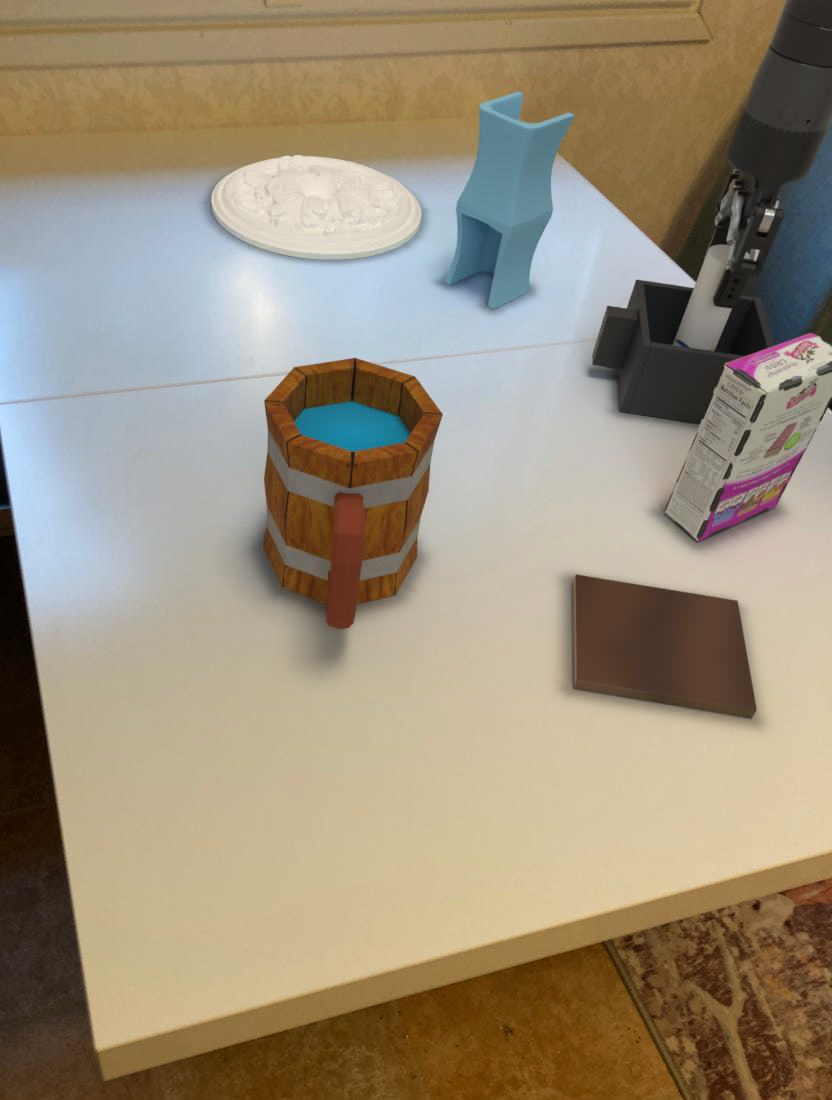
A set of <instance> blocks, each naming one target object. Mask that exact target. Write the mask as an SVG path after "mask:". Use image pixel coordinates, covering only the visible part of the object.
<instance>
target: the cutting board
mask: <svg viewBox="0 0 832 1100" xmlns="http://www.w3.org/2000/svg"><path fill="white" fill-rule="evenodd" d="M572 639H573V640H572V641H573V643H572V645H573V646H572V647H573V648H572V649H573V653H572V654H573V688H574V689H577V690H582V691H583V690H584V691H590V692H595V693H600V694H607V695H613V696H617V697H618V696H619V697H625V698H631V699H637V700H643V701H649V702H655V703H662V704H665V705H666V704H667V705H673V706H679V707H684V708H691V709H697V710H703V711H709V712H715V713H720V714H726V715H733V716H739V717H745V718H753V717H754V716H755V714H756V713H757V710H758V709H757V704H756V697H755V691H754V686H753V681H752V674H751V668H750V665H749V664H750V663H749V658H748V653H747V646H746V640H745V635H744V629H743V623H742V617H741V611H740V607H739V601H738V600H736V599H730V598H725V597H724V598H723V597H718V596H712V595H705V594H699V593H693V592H687V591H680V590H674V589H668V588H663V587H656V586H651V585H650V586H649V585H643V584H637V583H631V582H625V581H619V580H613V579H607V578H601V577H594V576H588V575H583V574H582V575H581V574H575V575H574V577H573V581H572Z"/></svg>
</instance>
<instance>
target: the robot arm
mask: <svg viewBox="0 0 832 1100" xmlns="http://www.w3.org/2000/svg"><path fill="white" fill-rule="evenodd" d="M780 12H781V13H780V15H779V18H778V21H777V23H776V25H775V29H774V31H773V34H772V37H771V40H770V42H769V44H768V47H767V49H766V52H765V53H764V56H763V58H762V60H761V62H760V63H759V65H758V67H757V70H756V72H755V74H754V77H753V80H752V82H751V84H750V86H749V87H750V88H749V90H748V93H747V96H746V99H745V101H744V104H743V106H742V109H741V111H740V115H739V117H738V119H737V120H738V121H737V122H736V126H735V128H734V131H733V133H732V136H731V139H730V141H729V145H728V147H727V149H726V159H727V162H728V163H729V165H731V166H730V169H729V172H728V174H727V177H726V179H725V181H724V185H723V187H722V189H721V192H720V195H719V197H718V199H717V202H716V203H715V212H717V214H716V216H715V219H714V225H715V229H714V230H713V234H712V235H711V238H710V240H709V244H708V245H707V246H708V247H707V249H706V251H705V254H704V257H703V261H704V260H705V257H706V255H707V252H708V250H709V248H710V247H711V246H714V245H730V251H729V255H728V260H727V262H726V267H725V270H724V272H723V275H722V277H721V279H720V282H719V284H718V287H717V289H716V292H715V294H714V297H713V303H714V305H715V306H717V307H723V308H730V309H731V308H734V307H735V306H736V305H737V302H738V300H739V297H740V295H742V293H743V290H744V288H745V285H746V284H747V281H748V278H749V276H753V277H759V276H760V274H761V273H762V271H763V267H764V265H765V263H766V261H767V258H768V255H769V253H770V251H771V249H772V246H773V244H774V241H775V238H776V236H777V234H778V231H779V229H780V227H781V225H782V221H783V220H784V218H785V209H783V208H779V206H780V201H781V197H780V191H781V190H780V189H781V188H782V186H784V185H785V184H788V183H791V182H798V181H800V180H803V179H804V178H805V177H807V176H808V174H809V173H810V171H811V169H812V167H813V164H814V162H815V160H816V158H817V155H818V153H819V151H820V148H821V147H822V144H823V141H824V140H825V137H826V135H827V132H828V130H829V128H830V125H831V123H832V0H785V2H784V4H783V7H782V10H781V11H780ZM748 250H750V253H749V254H750V257H749V259H746V258H744V256H745V254H746V252H748Z"/></svg>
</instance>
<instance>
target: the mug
mask: <svg viewBox="0 0 832 1100" xmlns="http://www.w3.org/2000/svg"><path fill="white" fill-rule="evenodd" d="M263 402H264V410H265V418H266V425H267V452H266V460H265V468H264V474H263V475H264V476H263V483H264V493H265V501H266V527H265V532H264V539H263V543H262V548H263V550H264V552H265V554H266V556H267V559H268V561H269V563H270V565H271V567H272V569H273V571H274V573H275V576H276V578H277V580H278V582H279V584H280V586H281V588H282V589H285V590H287V591H290V592H293V593H295V594H299V595H301V596H304V597H305V598H309V599H312V600H315V601H316V602H319V603H322V604H325V605H326V606H325V607H326V609H325V623H326V624H327V626H328V627H330V628H334V629H336V630H342V629H350V628H351V627H352V625H354V624H355V623H354V622H355V618H356V613H357V612H356V611H357V605H359V604H364V603H368V602H373V601H376V600H380V599H381V600H382V599H384V598H390V597H394V596H397V593H398V592H399V590H400V588H401V586H402V584H403V583H404V581H405V579H406V578H407V575H408V574H409V572H410V571H411V569H412V568H413V565H414V564H415V562H416V561H417V559H418V535H419V529H420V524H421V520H422V519H421V517H422V514H423V511H424V507H425V504H426V501H427V497H428V494H429V492H430V476H431V463H432V457H433V456H432V455H433V451H434V446H435V440H436V437H437V434H438V431H439V428H440V425H441V421H442V418H443V416H444V415H443V412H442V411H441V410H440V408H439V407H438V406H437V404H436V403H435V401H434V400H433V398H431V396H430V395H429V393H428V392H427V390H426V389H425V387H424V386H423V385H422V384H421V382H420V381H419V380H418V378H417V377H416V376H415V375H411V374H409V373H406V372H402V371H398V370H396V369H393V368H389V367H386V366H383V365H379V364H376V363H374V362H370V361H366V360H363V359H360V358H357V357H351V358H344V359H338V360H332V361H325V362H318V363H312V364H306V365H305V364H304V365H299V366H293V368H292V369H291V370H290V371H289V372H288V373H287V374H286V376H284V378H283V379H282V380H281V381H280V382H279V383H278V385H277V386H276V387H275V388H274V389H273V390H272V392H271V393H270V394H269V395H268V396H267V397H266V398H265V399H264V401H263Z"/></svg>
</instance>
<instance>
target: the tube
mask: <svg viewBox="0 0 832 1100" xmlns="http://www.w3.org/2000/svg"><path fill="white" fill-rule="evenodd" d="M729 251H730V245H714V246H711V247H710V248H709V250H708V252H707V255H706V257H705V256H704V257H705V260H704V259H703V263H702V265H701V268H700V271H699V274H698V277H697V279H696V281H695V284H694V287H693V288H694V289H693V292H692V295H691V297H690V300H689V303H688V305H687V308H686V311H685V313H684V316H683V319H682V321H681V324H680V327H679V329H678V332H677V335H676V337H675V340H674V343H673V345H675V346H682V347H688V348H695V349H701V350H708V351H715V348H716V346H717V343H718V341H719V339H720V336H721V334H722V331H723V329H724V327H725V324H726V322H727V319H728V317H729V315H730V312H731V310H732V308H731V309H730V308H723V307H717V306H715V305H714V303H713V297H714V294H715V292H716V289H717V287H718V284H719V282H720V279H721V277H722V275H723V272H724V270H725V267H726V262H727V260H728V255H729ZM749 257H750V253H749V252H748V251H746V254H745V256H744V258H746V259H749Z"/></svg>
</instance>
